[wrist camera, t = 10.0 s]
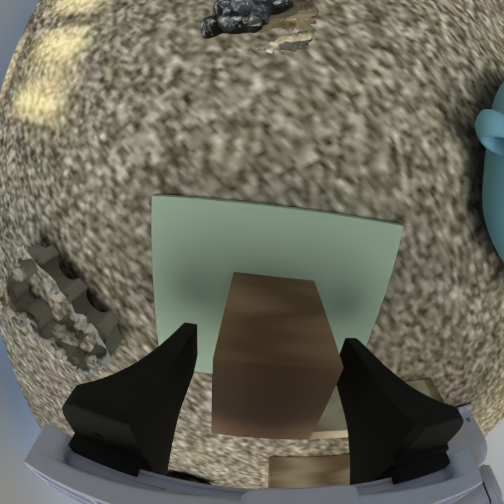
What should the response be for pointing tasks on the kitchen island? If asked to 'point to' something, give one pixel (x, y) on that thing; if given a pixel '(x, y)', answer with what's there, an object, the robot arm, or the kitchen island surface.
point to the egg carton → (72, 325)
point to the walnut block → (273, 359)
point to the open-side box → (327, 467)
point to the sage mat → (265, 262)
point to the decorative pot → (493, 168)
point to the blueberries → (262, 20)
